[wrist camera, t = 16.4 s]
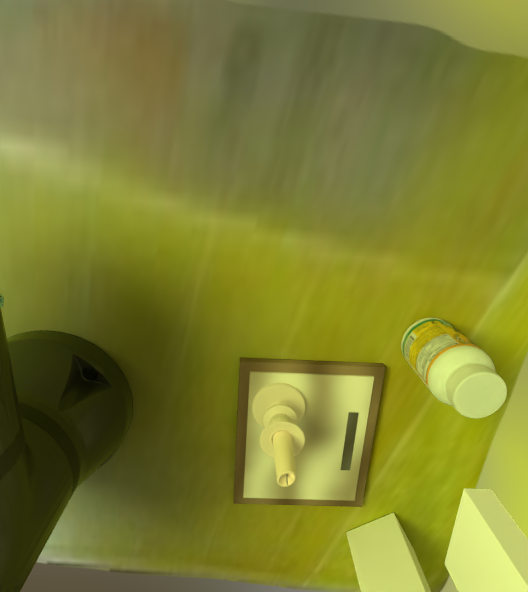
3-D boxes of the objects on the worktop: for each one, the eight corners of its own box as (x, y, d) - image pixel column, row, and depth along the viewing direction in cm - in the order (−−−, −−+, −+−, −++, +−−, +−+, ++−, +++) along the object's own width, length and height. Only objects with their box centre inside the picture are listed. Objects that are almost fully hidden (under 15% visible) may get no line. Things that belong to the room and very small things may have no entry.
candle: (309, 385, 39) (328, 460, 29) (299, 430, 41) (314, 516, 31) (256, 378, 39) (257, 452, 29) (248, 424, 40) (246, 509, 30)
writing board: (234, 497, 44) (233, 505, 43) (240, 357, 39) (239, 362, 38) (360, 500, 45) (362, 508, 44) (382, 363, 40) (386, 368, 39)
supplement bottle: (390, 333, 39) (432, 385, 30) (441, 305, 38) (500, 350, 29) (414, 375, 40) (461, 437, 31) (463, 349, 39) (526, 405, 30)
